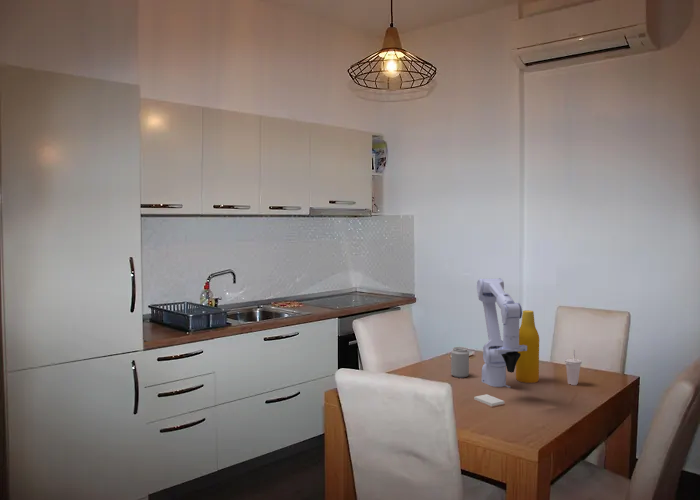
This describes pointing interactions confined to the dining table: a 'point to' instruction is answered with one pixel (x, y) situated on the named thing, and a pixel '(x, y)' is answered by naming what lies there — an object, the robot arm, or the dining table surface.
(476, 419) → the dining table surface
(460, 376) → the can
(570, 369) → the smoothie
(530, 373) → the beer bottle
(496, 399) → the tile
